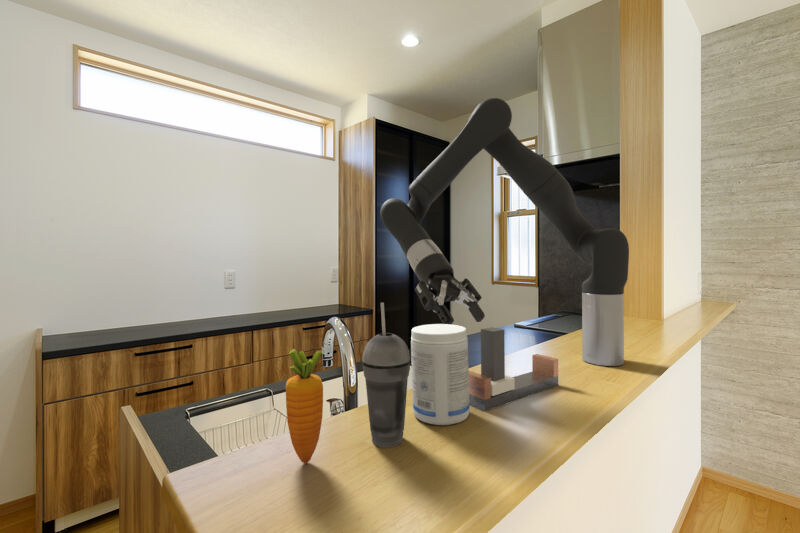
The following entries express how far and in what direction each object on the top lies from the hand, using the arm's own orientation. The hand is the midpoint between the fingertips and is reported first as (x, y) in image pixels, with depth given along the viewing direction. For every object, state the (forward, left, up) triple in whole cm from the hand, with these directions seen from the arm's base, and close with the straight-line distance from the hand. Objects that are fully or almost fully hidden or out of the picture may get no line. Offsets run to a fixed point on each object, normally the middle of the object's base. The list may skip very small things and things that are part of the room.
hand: (466, 321), depth 74 cm
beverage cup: (+24, +8, -14) cm, 29 cm away
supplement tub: (+12, +6, -14) cm, 19 cm away
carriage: (0, +7, -12) cm, 13 cm away
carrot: (+36, +7, -14) cm, 39 cm away
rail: (-6, +7, -14) cm, 16 cm away
